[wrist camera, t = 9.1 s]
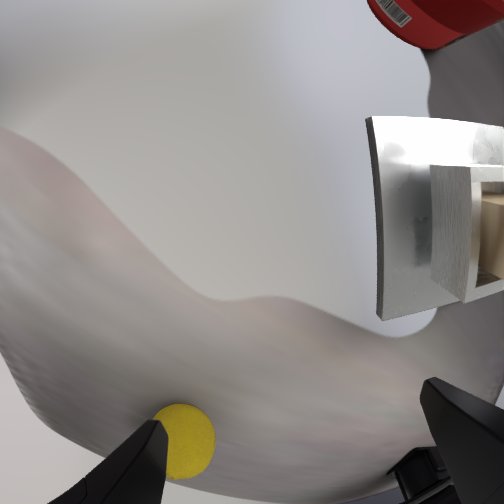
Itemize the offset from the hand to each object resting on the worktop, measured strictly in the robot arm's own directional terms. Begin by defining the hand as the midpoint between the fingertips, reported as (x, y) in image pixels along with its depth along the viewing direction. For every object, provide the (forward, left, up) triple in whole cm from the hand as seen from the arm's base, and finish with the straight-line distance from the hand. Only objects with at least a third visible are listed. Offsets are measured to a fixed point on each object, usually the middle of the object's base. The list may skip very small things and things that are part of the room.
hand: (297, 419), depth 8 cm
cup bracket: (+10, -11, -12) cm, 19 cm away
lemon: (-14, +2, -12) cm, 19 cm away
